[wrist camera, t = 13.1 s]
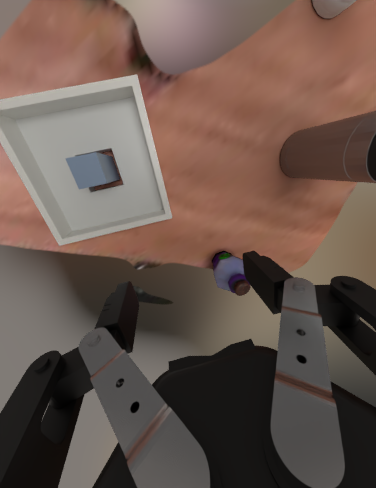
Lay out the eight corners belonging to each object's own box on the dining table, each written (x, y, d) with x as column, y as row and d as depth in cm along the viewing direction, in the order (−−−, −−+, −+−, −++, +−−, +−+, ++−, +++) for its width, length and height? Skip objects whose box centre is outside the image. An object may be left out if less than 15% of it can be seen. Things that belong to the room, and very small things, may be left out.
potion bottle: (226, 238, 43) (249, 262, 32) (244, 260, 46) (270, 288, 36) (199, 260, 44) (213, 291, 33) (218, 280, 48) (237, 313, 37)
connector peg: (112, 156, 32) (95, 152, 23) (120, 179, 34) (107, 183, 25) (90, 161, 32) (65, 158, 23) (99, 183, 34) (79, 189, 25)
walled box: (141, 94, 30) (137, 74, 23) (169, 209, 38) (172, 218, 32) (18, 118, 28) (-22, 103, 22) (76, 232, 36) (59, 245, 30)
